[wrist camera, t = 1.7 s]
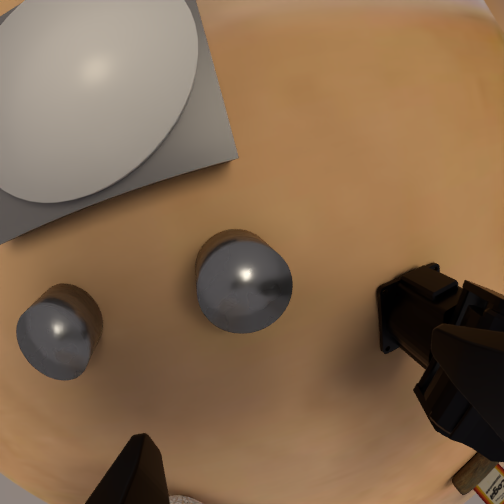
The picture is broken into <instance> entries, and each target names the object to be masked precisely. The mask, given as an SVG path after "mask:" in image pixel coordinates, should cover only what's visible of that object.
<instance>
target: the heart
mask: <svg viewBox="0 0 504 504" xmlns="http://www.w3.org/2000/svg"><path fill="white" fill-rule="evenodd" d="M169 501H170V504H191V503H193V504H203V503H201V502H200V501H198V500H196V499H193V498H190V497H187V496H182V495H174V496H169Z"/></svg>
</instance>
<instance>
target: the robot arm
mask: <svg viewBox="0 0 504 504" xmlns="http://www.w3.org/2000/svg"><path fill="white" fill-rule="evenodd" d="M462 287H463V288H461V287H459V286H458V282H457V281H456V280H455V279H453V278H450V277H448V276H446V275H444V274H442V273H440V267H439V265H438V264H436V263H431V264H429V265H427V266H422V267H419V268H417V269H415V270H413V271H410V272H408V273H406V274H403V275H402V276H401V277H400V278H397V279H395V280H393V281H390V282H388V283H385V284H383V285H381V286H380V287H379V288H378V291H377V295H378V308H379V324H380V346H381V351H382V352H383V353H384V354H387V353H389V352H391V351H393V350H395V349H397V348H399V347H400V348H401V349H402V350H404V351H405V352H406V353H407V354H408V355H409V356H410V357H412V358H413V359H414V360H415V361H416V362H417V363H418V364H420V365H421V366H422V367H423V368H424V369H425V372H424V374H423V376H422V377H421V379H420V381H419V383H417V384H416V386H415V388H414V389H413V391H414V393H415V394H416V396H417V398H418V400H419V402H420V404H421V405H422V407H423V409H424V411H425V413H426V415H427V417H428V419H429V421H430V422H431V424H432V425H433V427H434V429H435V430H436V431H437V432H439V433H441V434H442V435H444V436H446V437H448V438H450V439H451V440H454V441H457V442H460V443H463V444H465V445H467V446H469V447H471V448H473V449H474V450H476V451H477V452H479V453H480V454H481V455H483V456H484V457H486V458H487V459H488V460H490V461H493V462H504V295H502V294H499V293H497V292H495V291H493V290H490V289H488V288H485V287H483V286H480V285H477V284H475V283H472V282H470V281H467V280H465V281H464V284H463V286H462ZM384 290H385V292H384V293H383V291H384ZM386 347H387V348H386ZM85 504H170V501H169V494H168V489H167V484H166V478H165V473H164V467H163V461H162V455H161V452H160V450H159V449H158V447H157V446H156V445H155V443H154V442H153V441H152V439H151V438H150V437H149V435H148V434H146V433H142V434H136V435H133V436H132V437H131V438H130V440H129V441H128V443H127V444H126V446H125V447H124V448H123V450H122V451H121V453H120V454H119V456H118V457H117V458H116V460H115V461H114V463H113V464H112V466H111V467H110V468H109V470H108V471H107V473H106V474H105V476H104V477H103V478H102V480H101V481H100V483H99V484H98V486H97V487H96V488H95V490H94V491H93V493H92V494H91V496H90V497H89V498H88V500H87V501H86V503H85Z"/></svg>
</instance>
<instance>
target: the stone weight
mask: <svg viewBox="0 0 504 504" xmlns="http://www.w3.org/2000/svg"><path fill="white" fill-rule="evenodd" d="M498 463H499V462H493V461H490V460H488V459H487V458H486V457H484V456H483V455H481V454H480V453H479V452H478V453H477V454H476V455H475V456H474V457H473V458H472V459H471V460H470V461H469V462H468V463H467V464H466V465H465V466H464V467H463V468H462V469H461V470H460V471H459V472H458V473H457V474H456V475H455V476H454V478H453V479H452V483H453V485H454V486H455V487H456V489H457V490H458V491H459V492H460V493H461V494H462V495H465V494H467V493H468V492H470V491H471V490H472V489H474V488H475V487H476V486H477V485H478V484H479V483H480V482H481V481H482V480H483V479H484V478H485V477H486V476H487V475H488V474H489V473H490V472H491V471H492V470H493V469H494V468H495V466H496V465H497V464H498Z"/></svg>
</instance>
